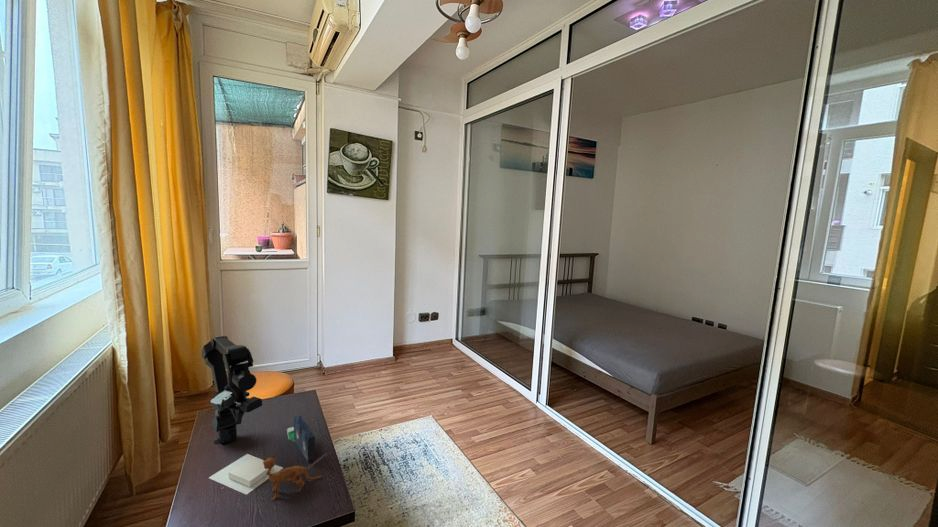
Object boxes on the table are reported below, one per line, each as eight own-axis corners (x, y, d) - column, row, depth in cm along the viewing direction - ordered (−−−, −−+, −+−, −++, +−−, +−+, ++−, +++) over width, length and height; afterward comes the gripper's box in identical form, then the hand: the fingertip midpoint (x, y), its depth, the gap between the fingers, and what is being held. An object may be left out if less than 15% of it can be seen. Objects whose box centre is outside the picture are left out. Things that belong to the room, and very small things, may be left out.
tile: (228, 472, 122) (249, 481, 118) (253, 456, 130) (273, 464, 126) (228, 478, 122) (249, 487, 118) (253, 462, 130) (273, 470, 127)
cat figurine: (318, 474, 128) (320, 437, 127) (324, 485, 123) (326, 446, 122) (260, 493, 117) (261, 453, 116) (263, 506, 112) (265, 464, 110)
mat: (208, 479, 122) (208, 477, 122) (247, 455, 135) (247, 453, 135) (246, 496, 115) (246, 494, 115) (283, 469, 128) (283, 467, 128)
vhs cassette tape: (314, 462, 133) (314, 436, 132) (306, 465, 131) (306, 439, 130) (301, 437, 147) (301, 414, 146) (293, 440, 145) (293, 416, 144)
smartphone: (305, 423, 156) (310, 442, 144) (304, 425, 156) (310, 444, 144) (286, 428, 152) (290, 447, 140) (286, 430, 152) (290, 449, 140)
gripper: (196, 384, 128) (198, 426, 129) (233, 396, 121) (234, 440, 123) (227, 373, 138) (228, 412, 140) (263, 383, 131) (264, 423, 133)
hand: (238, 421), depth 133 cm, fingers closed
